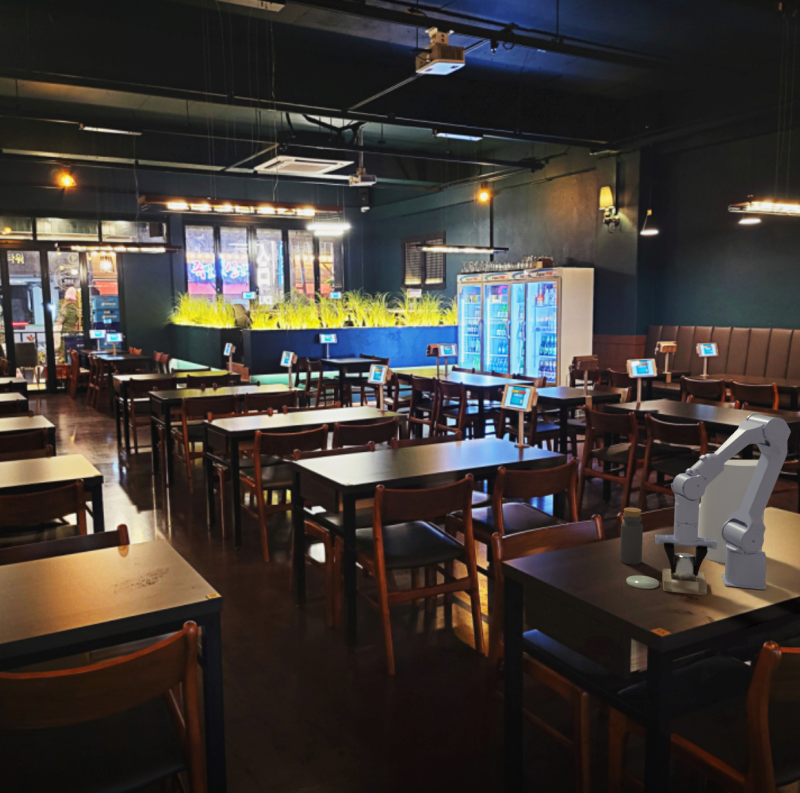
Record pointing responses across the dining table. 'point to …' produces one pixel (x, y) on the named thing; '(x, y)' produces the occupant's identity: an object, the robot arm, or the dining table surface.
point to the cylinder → (723, 503)
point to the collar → (684, 583)
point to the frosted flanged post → (684, 567)
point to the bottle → (631, 537)
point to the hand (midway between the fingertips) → (684, 573)
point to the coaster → (642, 582)
